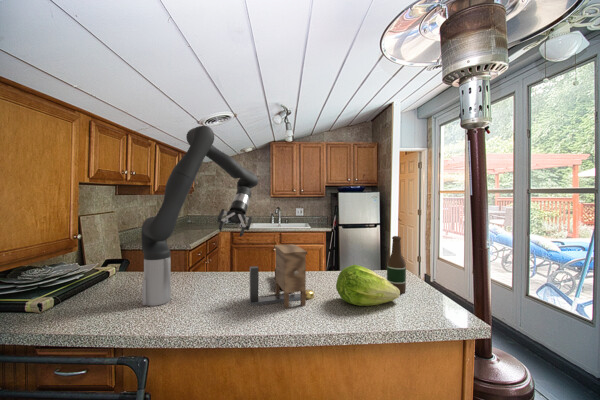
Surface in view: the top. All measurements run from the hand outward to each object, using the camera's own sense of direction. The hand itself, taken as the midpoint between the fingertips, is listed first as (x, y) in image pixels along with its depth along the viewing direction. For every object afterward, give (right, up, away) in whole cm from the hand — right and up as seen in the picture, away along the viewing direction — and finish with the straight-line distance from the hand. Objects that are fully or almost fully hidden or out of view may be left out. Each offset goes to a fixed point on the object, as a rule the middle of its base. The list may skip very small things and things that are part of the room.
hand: (230, 232), depth 115 cm
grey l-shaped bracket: (+20, -26, -7) cm, 34 cm away
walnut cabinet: (+25, -26, -6) cm, 37 cm away
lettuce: (+56, -26, -9) cm, 63 cm away
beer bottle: (+71, -26, +4) cm, 76 cm away
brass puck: (+33, -26, -3) cm, 42 cm away
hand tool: (+19, -26, +15) cm, 36 cm away
